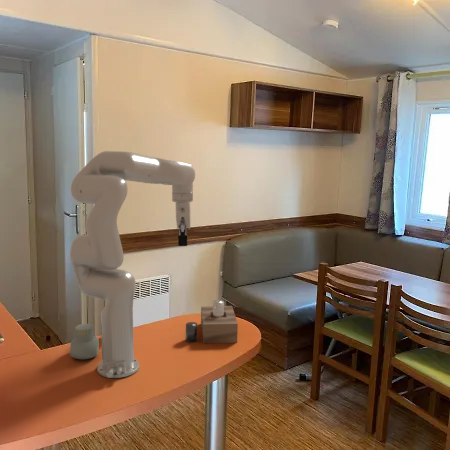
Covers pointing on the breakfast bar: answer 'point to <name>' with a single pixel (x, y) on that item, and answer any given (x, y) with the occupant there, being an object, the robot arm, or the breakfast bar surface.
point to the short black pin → (191, 332)
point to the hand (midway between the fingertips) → (182, 242)
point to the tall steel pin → (218, 308)
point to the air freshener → (84, 342)
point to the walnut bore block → (218, 326)
